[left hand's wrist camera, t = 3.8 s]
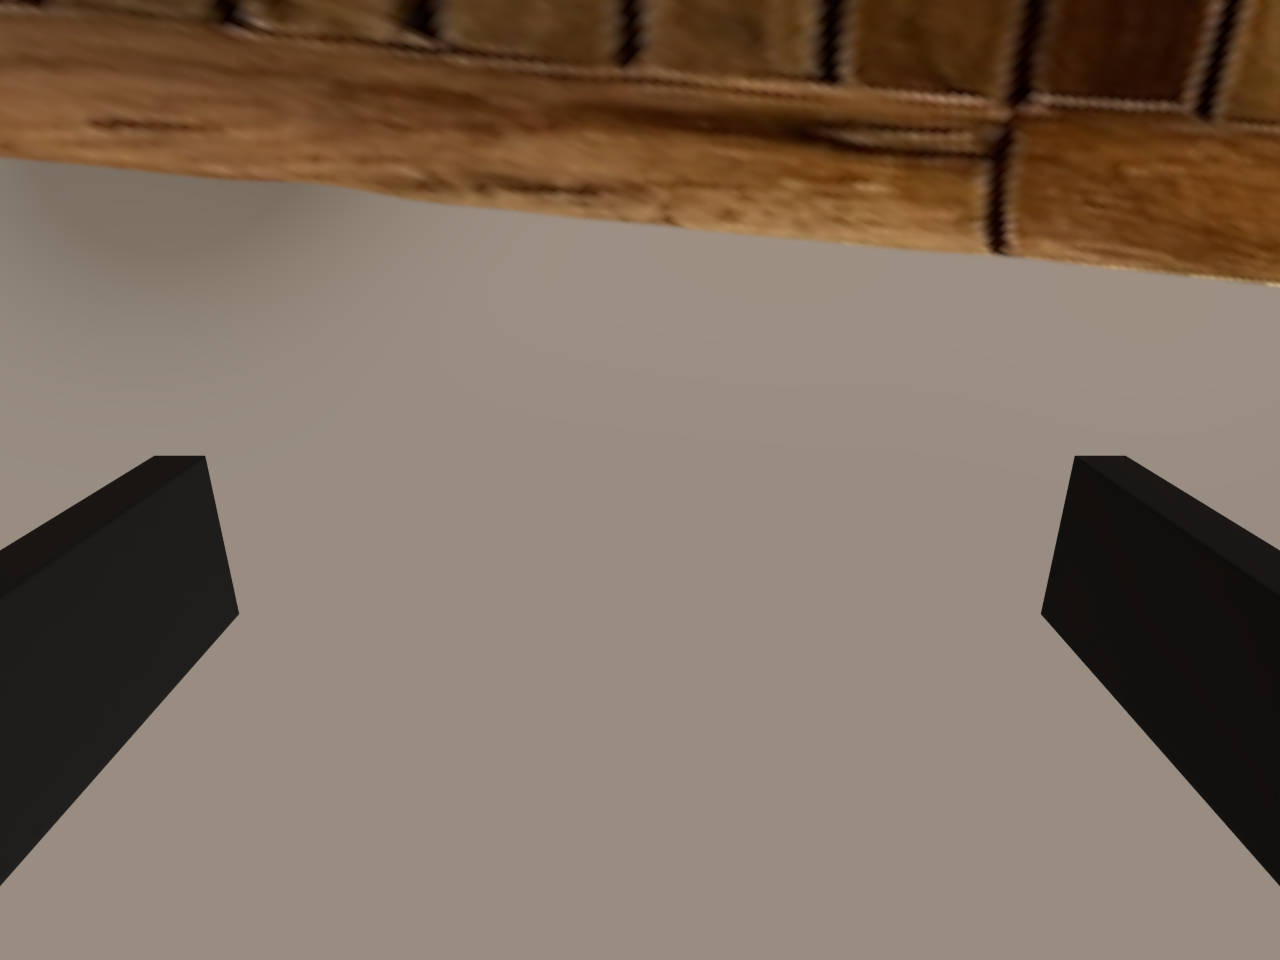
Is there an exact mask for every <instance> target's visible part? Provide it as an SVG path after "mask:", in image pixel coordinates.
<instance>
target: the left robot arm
mask: <svg viewBox="0 0 1280 960" xmlns="http://www.w3.org/2000/svg"><path fill="white" fill-rule="evenodd" d="M238 615H239V611H238V607H237V602H236V597H235V593H234V588H233V583H232V579H231V574H230V569H229V565H228V560H227V555H226V551H225V546H224V541H223V537H222V532H221V527H220V523H219V518H218V513H217V509H216V504H215V499H214V495H213V490H212V485H211V481H210V476H209V471H208V467H207V462H206V457H205V456H153V457H152V458H150V459H148V460H147V461H145V462H143V463H142V464H140V465H139V466H137V467H135V468H134V469H132V470H131V471H129V472H127V473H126V474H124V475H122V476H121V477H119V478H117V479H116V480H114V481H113V482H111V483H109V484H108V485H106V486H104V487H103V488H101V489H100V490H98V491H96V492H95V493H93V494H91V495H90V496H88V497H86V498H85V499H83V500H82V501H80V502H78V503H77V504H75V505H73V506H72V507H70V508H69V509H67V510H65V511H64V512H62V513H60V514H59V515H57V516H56V517H54V518H52V519H51V520H49V521H47V522H46V523H44V524H43V525H41V526H39V527H38V528H36V529H34V530H33V531H31V532H29V533H28V534H26V535H25V536H23V537H21V538H20V539H18V540H17V541H15V542H13V543H12V544H10V545H8V546H7V547H5V548H4V549H2V550H0V886H1V884H2V883H3V882H4V881H5V880H6V879H7V878H8V876H9V875H10V874H11V873H12V872H13V871H14V870H15V868H16V867H17V866H18V865H19V864H20V863H21V862H22V861H23V859H24V858H25V857H26V856H27V855H28V854H29V853H30V851H31V850H32V849H33V848H34V847H35V846H36V845H37V843H38V842H39V841H40V840H41V839H42V838H43V837H44V835H45V834H46V833H47V832H48V831H49V830H50V829H51V828H52V826H53V825H54V824H55V823H56V822H57V821H58V820H59V818H60V817H61V816H62V815H63V814H64V813H65V812H66V810H67V809H68V808H69V807H70V806H71V805H72V804H73V803H74V801H75V800H76V799H77V798H78V797H79V796H80V795H81V793H82V792H83V791H84V790H85V789H86V788H87V787H88V785H89V784H90V783H91V782H92V781H93V780H94V779H95V777H96V776H97V775H98V774H99V773H100V772H101V771H102V769H103V768H104V767H105V766H106V765H107V764H108V763H109V761H110V760H111V759H112V758H113V757H114V756H115V755H116V754H117V752H118V751H119V750H120V749H121V748H122V747H123V746H124V744H125V743H126V742H127V741H128V740H129V739H130V738H131V736H132V735H133V734H134V733H135V732H136V731H137V730H138V729H139V727H140V726H141V725H142V724H143V723H144V722H145V720H146V719H147V718H148V717H149V716H150V715H151V714H152V713H153V711H154V710H155V709H156V708H157V707H158V706H159V705H160V703H161V702H162V701H163V700H164V699H165V698H166V697H167V695H168V694H169V693H170V692H171V691H172V690H173V689H174V688H175V686H176V685H177V684H178V683H179V682H180V681H181V679H182V678H183V677H184V676H185V675H186V674H187V673H188V672H189V670H190V669H191V668H192V667H193V666H194V665H195V664H196V662H197V661H198V660H199V659H200V658H201V657H202V656H203V655H204V653H205V652H206V651H207V650H208V649H209V648H210V646H211V645H212V644H213V643H214V642H215V641H216V640H217V639H218V637H219V636H220V635H221V634H222V633H223V632H224V631H225V629H226V628H227V627H228V626H229V625H230V624H231V623H232V622H233V620H234V619H235V618H236V617H237V616H238ZM1041 615H1042V616H1043V617H1044V618H1045V619H1046V620H1047V622H1048V623H1049V624H1050V625H1051V626H1052V627H1053V628H1054V629H1055V631H1056V632H1057V633H1058V634H1059V635H1060V636H1061V637H1062V639H1063V640H1064V641H1065V642H1066V643H1067V644H1068V645H1069V646H1070V648H1071V649H1072V650H1073V651H1074V652H1075V653H1076V655H1077V656H1078V657H1079V658H1080V659H1081V660H1082V661H1083V662H1084V664H1085V665H1086V666H1087V667H1088V668H1089V669H1090V670H1091V671H1092V673H1093V674H1094V675H1095V676H1096V677H1097V678H1098V680H1099V681H1100V682H1101V683H1102V684H1103V685H1104V686H1105V688H1106V689H1107V690H1108V691H1109V692H1110V693H1111V694H1112V696H1113V697H1114V698H1115V699H1116V700H1117V701H1118V702H1119V703H1120V705H1121V706H1122V707H1123V708H1124V709H1125V710H1126V711H1127V713H1128V714H1129V715H1130V716H1131V717H1132V718H1133V719H1134V721H1135V722H1136V723H1137V724H1138V725H1139V726H1140V727H1141V729H1142V730H1143V731H1144V732H1145V733H1146V734H1147V735H1148V736H1149V738H1150V739H1151V740H1152V741H1153V742H1154V743H1155V744H1156V746H1157V747H1158V748H1159V749H1160V750H1161V751H1162V752H1163V754H1164V755H1165V756H1166V757H1167V758H1168V759H1169V760H1170V762H1171V763H1172V764H1173V765H1174V766H1175V767H1176V768H1177V769H1178V771H1179V772H1180V773H1181V774H1182V775H1183V776H1184V777H1185V779H1186V780H1187V781H1188V782H1189V783H1190V784H1191V785H1192V787H1193V788H1194V789H1195V790H1196V791H1197V792H1198V793H1199V795H1200V796H1201V797H1202V798H1203V799H1204V800H1205V801H1206V803H1207V804H1208V805H1209V806H1210V807H1211V808H1212V809H1213V810H1214V812H1215V813H1216V814H1217V815H1218V816H1219V817H1220V818H1221V820H1222V821H1223V822H1224V823H1225V824H1226V825H1227V826H1228V828H1229V829H1230V830H1231V831H1232V832H1233V833H1234V834H1235V836H1236V837H1237V838H1238V839H1239V840H1240V841H1241V842H1242V843H1243V845H1244V846H1245V847H1246V848H1247V849H1248V850H1249V851H1250V852H1251V854H1252V855H1253V856H1254V857H1255V858H1256V859H1257V861H1258V862H1259V863H1260V864H1261V865H1262V866H1263V867H1264V868H1265V870H1266V871H1267V872H1268V873H1269V874H1270V875H1271V877H1272V878H1273V879H1274V880H1275V881H1276V882H1277V883H1278V884H1279V886H1280V550H1278V549H1277V548H1275V547H1273V546H1272V545H1270V544H1268V543H1267V542H1265V541H1264V540H1262V539H1260V538H1259V537H1257V536H1255V535H1254V534H1252V533H1250V532H1249V531H1247V530H1246V529H1244V528H1242V527H1241V526H1239V525H1237V524H1236V523H1234V522H1233V521H1231V520H1229V519H1228V518H1226V517H1224V516H1223V515H1221V514H1220V513H1218V512H1216V511H1215V510H1213V509H1211V508H1210V507H1208V506H1207V505H1205V504H1203V503H1202V502H1200V501H1198V500H1197V499H1195V498H1193V497H1192V496H1190V495H1189V494H1187V493H1185V492H1184V491H1182V490H1180V489H1179V488H1177V487H1176V486H1174V485H1172V484H1171V483H1169V482H1167V481H1166V480H1164V479H1163V478H1161V477H1159V476H1158V475H1156V474H1154V473H1153V472H1151V471H1150V470H1148V469H1146V468H1145V467H1143V466H1141V465H1140V464H1138V463H1137V462H1135V461H1133V460H1132V459H1130V458H1128V457H1127V456H1075V457H1074V462H1073V467H1072V471H1071V476H1070V481H1069V485H1068V490H1067V495H1066V499H1065V504H1064V509H1063V513H1062V518H1061V523H1060V527H1059V532H1058V537H1057V541H1056V546H1055V551H1054V555H1053V560H1052V565H1051V569H1050V574H1049V579H1048V583H1047V588H1046V592H1045V597H1044V602H1043V606H1042V611H1041Z"/></svg>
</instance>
